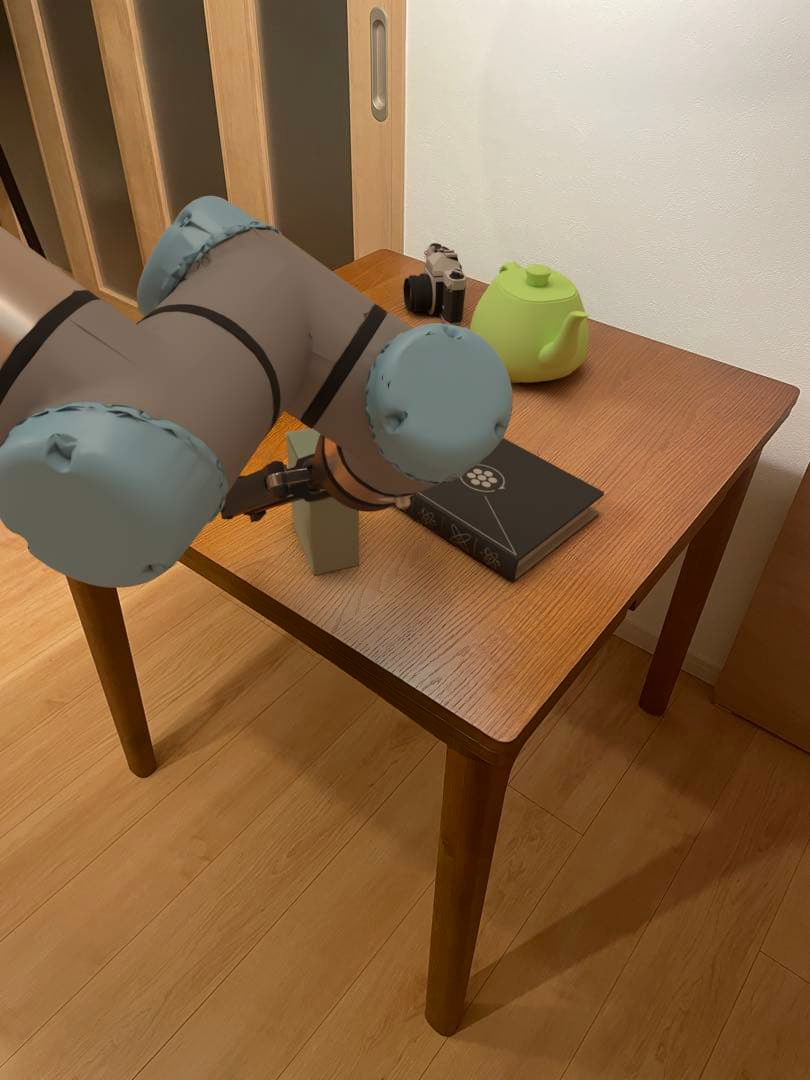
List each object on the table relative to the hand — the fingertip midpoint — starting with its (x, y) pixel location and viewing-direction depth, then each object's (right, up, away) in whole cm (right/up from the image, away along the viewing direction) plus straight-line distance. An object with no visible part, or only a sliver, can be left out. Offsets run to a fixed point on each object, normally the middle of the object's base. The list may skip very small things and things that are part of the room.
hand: (324, 492), depth 74 cm
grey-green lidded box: (0, -5, +5) cm, 7 cm away
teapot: (+24, +18, +32) cm, 44 cm away
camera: (+11, +30, +44) cm, 54 cm away
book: (+15, 0, +11) cm, 18 cm away
